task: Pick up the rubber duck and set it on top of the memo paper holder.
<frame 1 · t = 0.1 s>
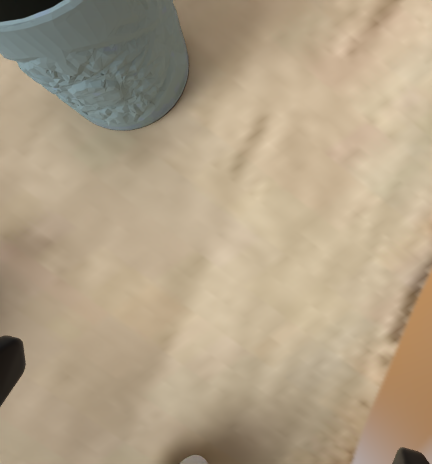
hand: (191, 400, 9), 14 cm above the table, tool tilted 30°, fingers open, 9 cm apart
grey green cup: (132, 76, 27), on the table
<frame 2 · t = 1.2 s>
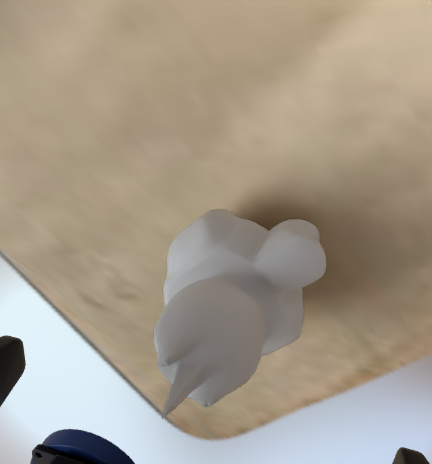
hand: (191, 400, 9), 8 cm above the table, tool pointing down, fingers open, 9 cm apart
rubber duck: (254, 252, 16), on the table
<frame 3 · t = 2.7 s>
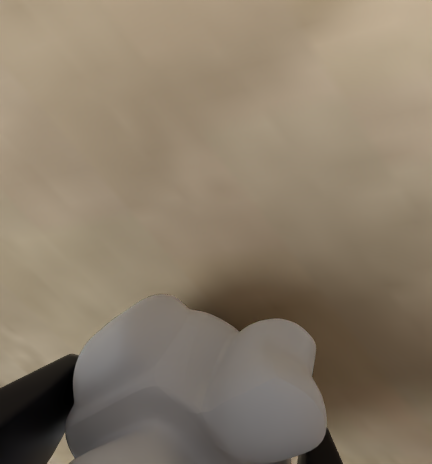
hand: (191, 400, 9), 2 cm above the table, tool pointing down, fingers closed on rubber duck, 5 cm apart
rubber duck: (221, 342, 11), on the table, touching gripper
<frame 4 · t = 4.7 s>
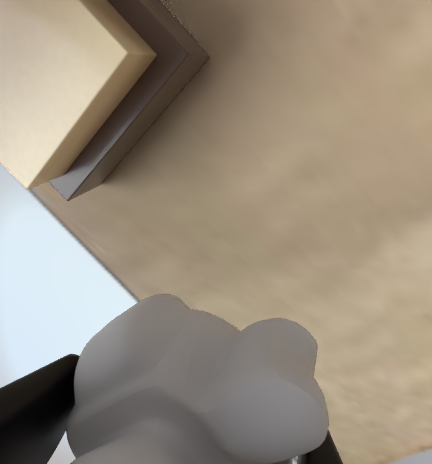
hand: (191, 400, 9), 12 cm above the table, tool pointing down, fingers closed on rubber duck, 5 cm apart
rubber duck: (222, 342, 11), point 10 cm above the table, touching gripper
memo paper holder: (84, 58, 19), on the table
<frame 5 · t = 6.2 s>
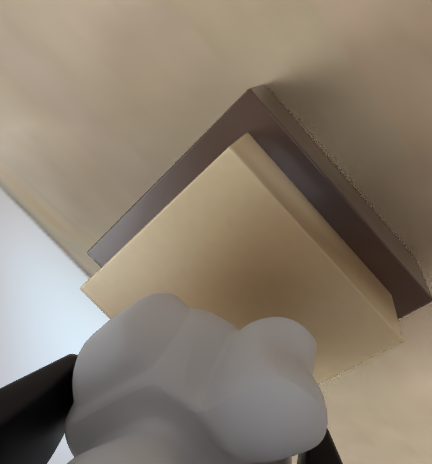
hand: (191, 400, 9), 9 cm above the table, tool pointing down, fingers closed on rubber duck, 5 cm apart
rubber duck: (221, 341, 11), point 7 cm above the table, touching gripper
memo paper holder: (256, 241, 17), on the table
when the fingers open (8 cm above the table, at t = 7.1 s): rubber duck stays where it is, resting on memo paper holder.
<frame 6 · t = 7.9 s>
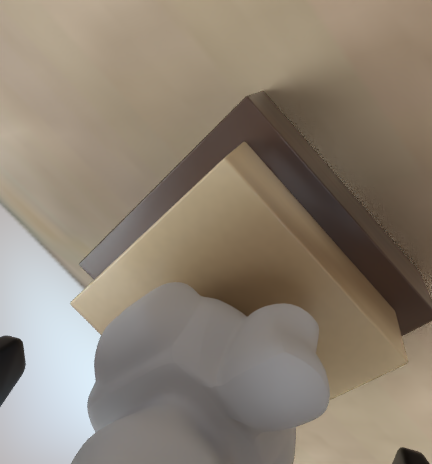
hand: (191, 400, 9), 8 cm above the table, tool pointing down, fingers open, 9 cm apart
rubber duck: (228, 329, 12), point 5 cm above the table, touching memo paper holder
memo paper holder: (254, 252, 16), on the table
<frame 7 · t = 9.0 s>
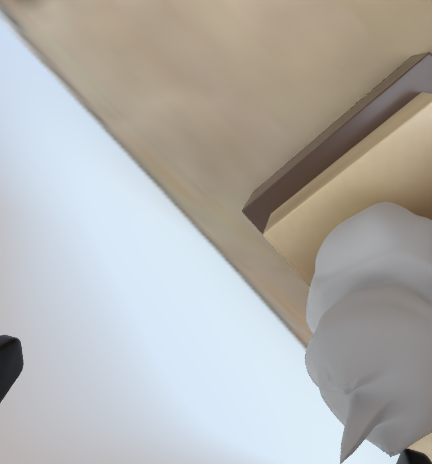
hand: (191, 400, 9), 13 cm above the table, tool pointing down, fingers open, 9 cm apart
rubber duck: (415, 258, 13), point 6 cm above the table, touching memo paper holder, gripper
memo paper holder: (386, 203, 19), on the table
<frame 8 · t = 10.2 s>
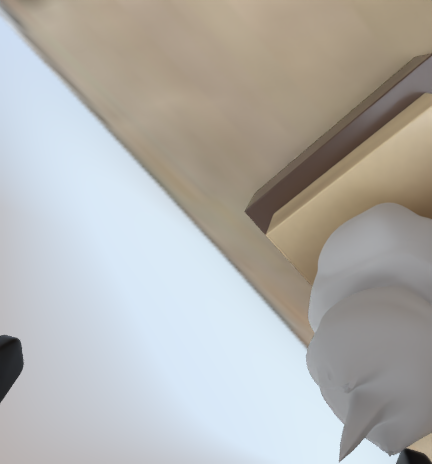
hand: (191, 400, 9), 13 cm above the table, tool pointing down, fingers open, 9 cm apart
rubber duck: (418, 259, 13), point 6 cm above the table, touching memo paper holder, gripper
memo paper holder: (388, 204, 19), on the table
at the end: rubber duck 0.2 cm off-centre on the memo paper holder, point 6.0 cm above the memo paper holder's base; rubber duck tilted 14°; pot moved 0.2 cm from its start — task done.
